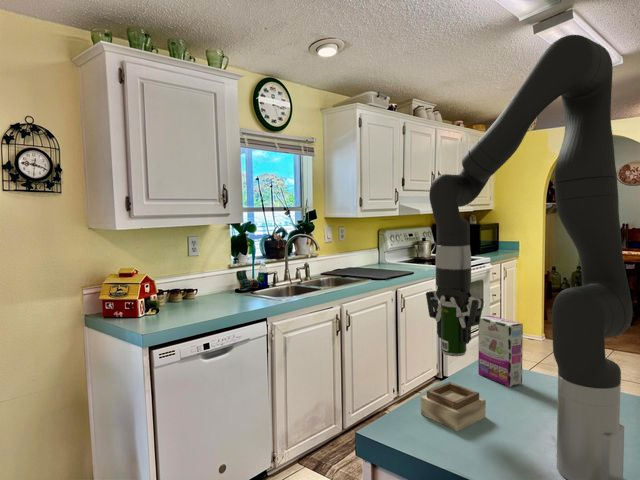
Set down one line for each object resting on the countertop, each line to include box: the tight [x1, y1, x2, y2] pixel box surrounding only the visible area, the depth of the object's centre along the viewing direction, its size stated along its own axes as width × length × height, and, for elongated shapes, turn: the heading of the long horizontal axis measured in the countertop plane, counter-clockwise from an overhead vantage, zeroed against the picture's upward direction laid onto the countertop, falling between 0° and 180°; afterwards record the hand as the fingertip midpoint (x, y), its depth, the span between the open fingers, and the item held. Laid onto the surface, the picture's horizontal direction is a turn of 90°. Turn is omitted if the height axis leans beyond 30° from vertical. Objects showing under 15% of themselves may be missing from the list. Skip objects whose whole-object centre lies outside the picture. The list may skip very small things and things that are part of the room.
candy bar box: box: [477, 315, 524, 388], centre depth 119 cm, size 11×5×16 cm, turn 25°
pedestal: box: [420, 381, 487, 432], centre depth 99 cm, size 10×10×6 cm
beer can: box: [440, 300, 467, 357], centre depth 98 cm, size 5×5×12 cm
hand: (453, 340), depth 98 cm, fingers closed on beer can, 5 cm apart
